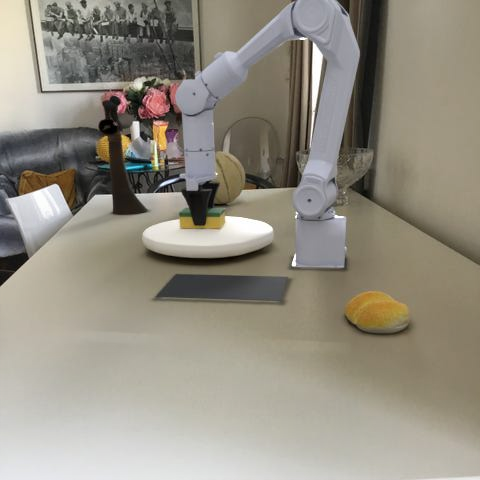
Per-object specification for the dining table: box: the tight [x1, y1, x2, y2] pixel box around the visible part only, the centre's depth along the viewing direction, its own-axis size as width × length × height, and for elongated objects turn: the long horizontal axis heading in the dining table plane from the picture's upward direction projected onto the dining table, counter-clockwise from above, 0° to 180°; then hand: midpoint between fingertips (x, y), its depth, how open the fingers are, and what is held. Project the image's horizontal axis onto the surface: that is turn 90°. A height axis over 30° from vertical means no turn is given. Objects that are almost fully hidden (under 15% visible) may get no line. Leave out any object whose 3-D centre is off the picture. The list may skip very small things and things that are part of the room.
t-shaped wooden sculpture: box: [97, 95, 148, 215], centre depth 151 cm, size 32×10×30 cm, turn 4°
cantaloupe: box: [211, 151, 246, 205], centre depth 161 cm, size 15×15×15 cm
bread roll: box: [344, 290, 411, 334], centre depth 78 cm, size 8×9×4 cm
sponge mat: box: [155, 273, 289, 302], centre depth 94 cm, size 20×12×1 cm, turn 80°
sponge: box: [178, 207, 226, 228], centre depth 111 cm, size 8×5×3 cm, turn 80°
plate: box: [141, 215, 275, 259], centre depth 116 cm, size 28×6×27 cm
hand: (203, 222), depth 111 cm, fingers closed on sponge, 5 cm apart
